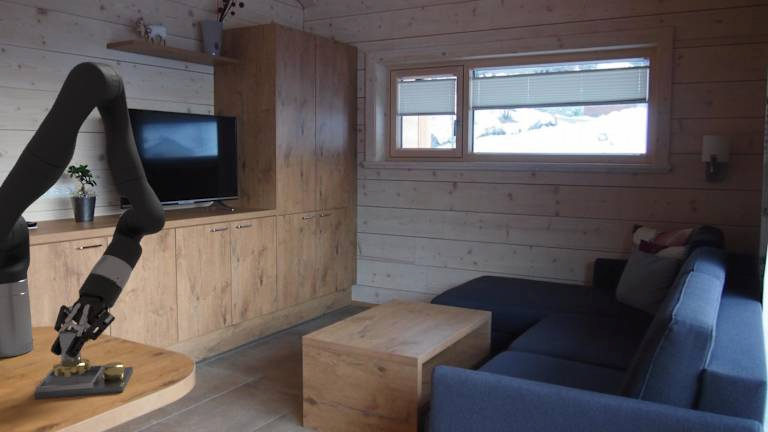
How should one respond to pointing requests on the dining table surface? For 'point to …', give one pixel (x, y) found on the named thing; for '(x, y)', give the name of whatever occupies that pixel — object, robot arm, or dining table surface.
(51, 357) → the dining table surface
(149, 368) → the dining table surface
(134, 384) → the dining table surface
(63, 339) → the gear
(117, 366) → the tray
